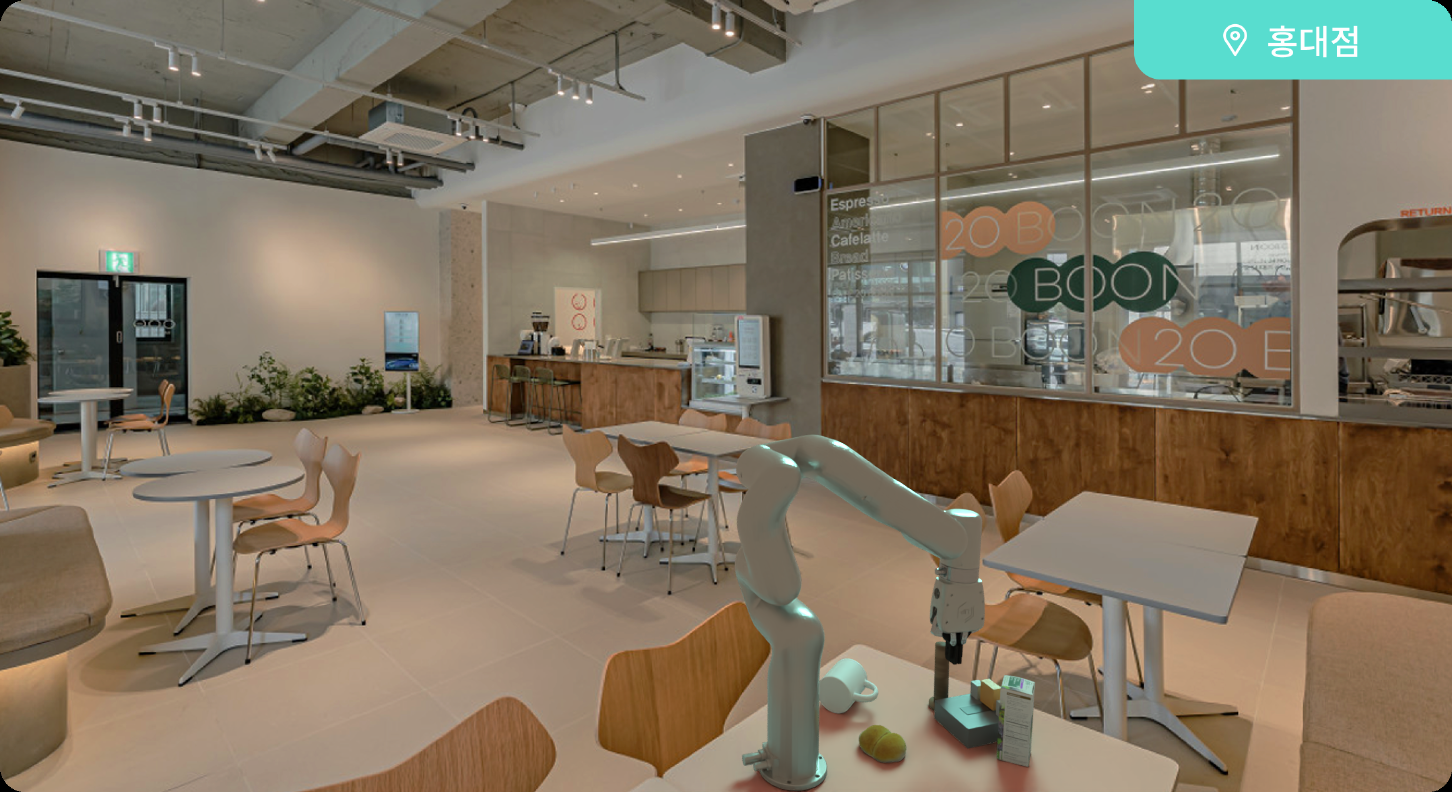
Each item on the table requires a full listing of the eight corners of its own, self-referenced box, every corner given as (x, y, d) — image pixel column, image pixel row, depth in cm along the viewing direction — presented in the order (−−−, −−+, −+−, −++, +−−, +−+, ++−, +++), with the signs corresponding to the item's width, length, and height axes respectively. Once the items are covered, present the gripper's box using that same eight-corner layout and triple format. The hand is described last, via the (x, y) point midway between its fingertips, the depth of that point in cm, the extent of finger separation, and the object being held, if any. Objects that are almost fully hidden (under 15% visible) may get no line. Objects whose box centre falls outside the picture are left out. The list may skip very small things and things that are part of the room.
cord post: (937, 714, 146) (939, 651, 145) (924, 702, 151) (925, 641, 149) (957, 710, 148) (959, 647, 146) (943, 698, 152) (945, 638, 151)
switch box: (967, 748, 134) (968, 714, 134) (934, 718, 145) (935, 686, 144) (1026, 735, 138) (1027, 702, 138) (990, 707, 149) (991, 676, 148)
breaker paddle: (992, 710, 140) (993, 689, 139) (980, 700, 143) (980, 680, 143) (1001, 709, 140) (1001, 687, 140) (988, 699, 144) (988, 678, 144)
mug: (816, 707, 149) (816, 672, 148) (834, 687, 157) (834, 654, 157) (869, 724, 143) (869, 687, 142) (885, 702, 151) (885, 667, 150)
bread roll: (890, 770, 128) (890, 750, 127) (852, 748, 135) (852, 729, 134) (915, 752, 133) (916, 733, 133) (878, 732, 140) (878, 713, 140)
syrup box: (999, 743, 136) (1002, 673, 134) (1032, 751, 133) (1035, 680, 132) (996, 759, 131) (998, 686, 129) (1030, 768, 128) (1033, 694, 127)
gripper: (937, 581, 131) (932, 674, 132) (1003, 575, 135) (996, 665, 137) (915, 568, 138) (910, 657, 139) (978, 563, 142) (972, 649, 144)
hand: (953, 661), depth 138 cm, fingers closed
